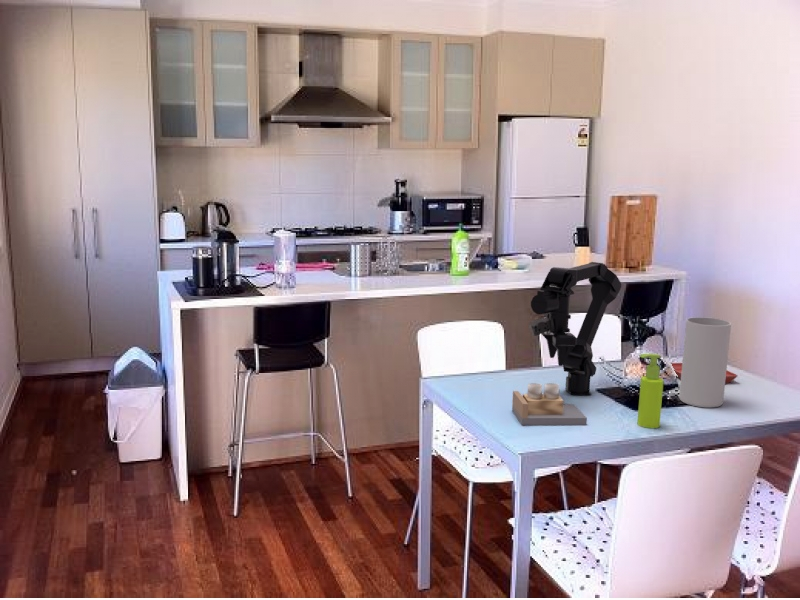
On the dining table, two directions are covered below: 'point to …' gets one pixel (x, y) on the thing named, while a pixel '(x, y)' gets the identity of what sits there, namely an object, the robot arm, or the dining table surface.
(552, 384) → the glass caddy
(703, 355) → the cylinder vase
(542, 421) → the l-shaped bookend
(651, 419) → the soap dispenser
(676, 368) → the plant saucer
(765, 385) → the dining table surface
